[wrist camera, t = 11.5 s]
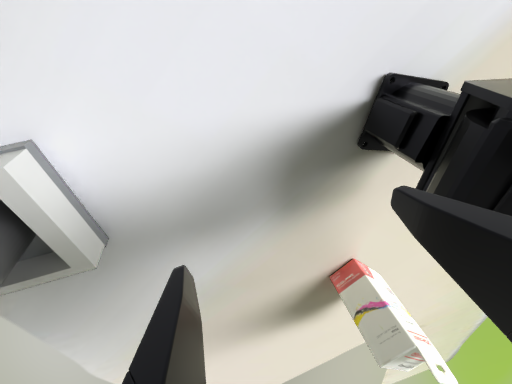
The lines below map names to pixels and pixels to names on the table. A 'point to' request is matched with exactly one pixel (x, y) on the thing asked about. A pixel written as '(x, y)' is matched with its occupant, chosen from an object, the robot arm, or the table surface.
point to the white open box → (46, 220)
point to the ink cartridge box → (386, 322)
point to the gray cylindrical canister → (12, 240)
